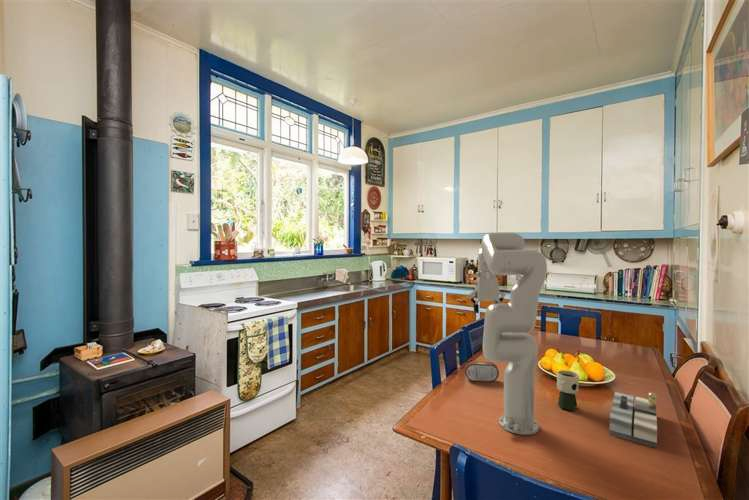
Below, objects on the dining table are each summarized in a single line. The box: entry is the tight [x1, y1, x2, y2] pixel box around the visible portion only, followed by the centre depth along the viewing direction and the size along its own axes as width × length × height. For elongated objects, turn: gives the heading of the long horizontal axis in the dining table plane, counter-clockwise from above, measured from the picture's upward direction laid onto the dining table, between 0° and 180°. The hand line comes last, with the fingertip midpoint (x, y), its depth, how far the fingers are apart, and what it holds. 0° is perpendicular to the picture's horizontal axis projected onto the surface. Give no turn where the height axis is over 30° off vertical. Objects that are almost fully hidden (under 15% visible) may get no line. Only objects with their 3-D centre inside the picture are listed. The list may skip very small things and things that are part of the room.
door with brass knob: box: [634, 391, 658, 414], centre depth 117 cm, size 2×6×6 cm, turn 52°
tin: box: [463, 361, 500, 383], centre depth 157 cm, size 15×3×8 cm, turn 84°
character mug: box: [556, 369, 580, 411], centre depth 132 cm, size 11×7×13 cm, turn 133°
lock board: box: [608, 391, 658, 449], centre depth 119 cm, size 24×12×8 cm, turn 142°
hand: (486, 312), depth 160 cm, fingers open, 9 cm apart
